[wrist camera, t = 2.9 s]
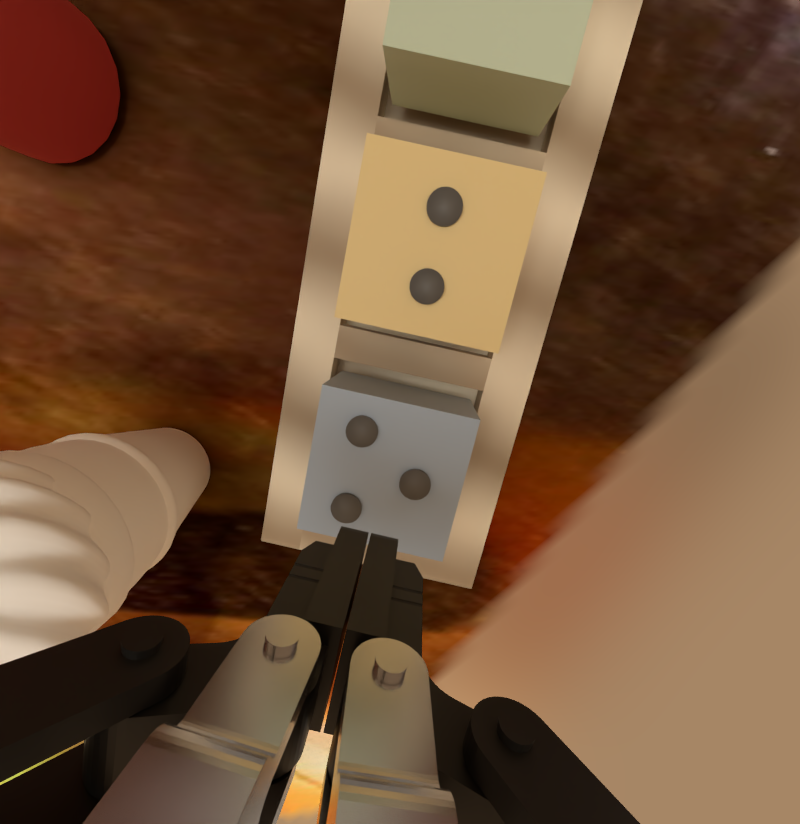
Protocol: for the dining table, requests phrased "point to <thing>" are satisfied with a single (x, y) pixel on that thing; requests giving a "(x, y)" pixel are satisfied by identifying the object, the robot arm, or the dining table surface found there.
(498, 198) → the tile two
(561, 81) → the tile one
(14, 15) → the beer can
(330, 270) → the board
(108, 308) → the dining table surface
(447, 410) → the tile three
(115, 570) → the soft serve ice cream cone
